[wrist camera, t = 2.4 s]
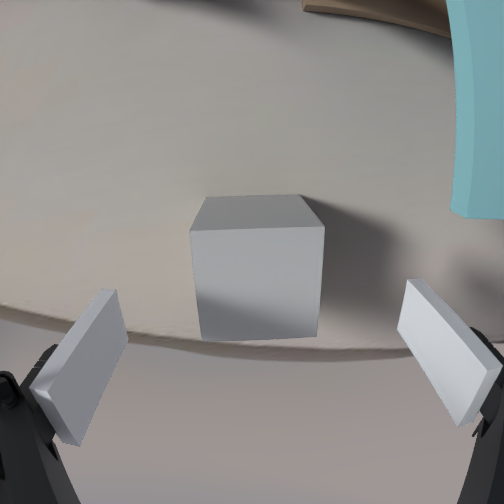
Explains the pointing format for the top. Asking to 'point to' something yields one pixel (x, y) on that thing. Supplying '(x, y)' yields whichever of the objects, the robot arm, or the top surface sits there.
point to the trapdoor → (478, 107)
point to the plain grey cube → (257, 267)
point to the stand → (391, 12)
